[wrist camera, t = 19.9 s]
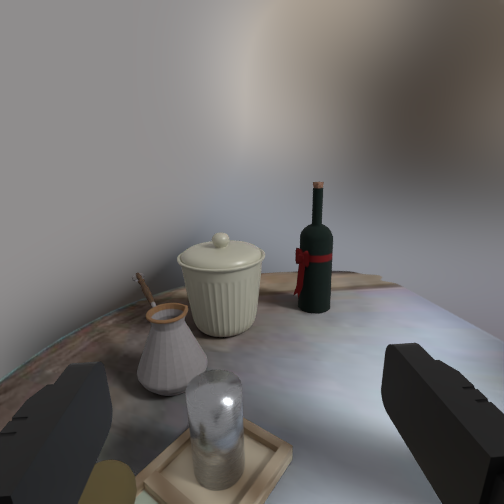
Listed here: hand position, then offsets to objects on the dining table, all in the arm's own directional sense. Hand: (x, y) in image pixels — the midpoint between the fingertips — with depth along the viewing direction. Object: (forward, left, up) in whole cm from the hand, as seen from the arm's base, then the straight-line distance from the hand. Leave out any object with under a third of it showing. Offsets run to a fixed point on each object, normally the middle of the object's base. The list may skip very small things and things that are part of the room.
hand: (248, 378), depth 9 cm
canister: (-41, -38, -30) cm, 63 cm away
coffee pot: (-24, -38, -30) cm, 54 cm away
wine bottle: (-59, -26, -30) cm, 71 cm away
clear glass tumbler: (-14, -16, -29) cm, 36 cm away
